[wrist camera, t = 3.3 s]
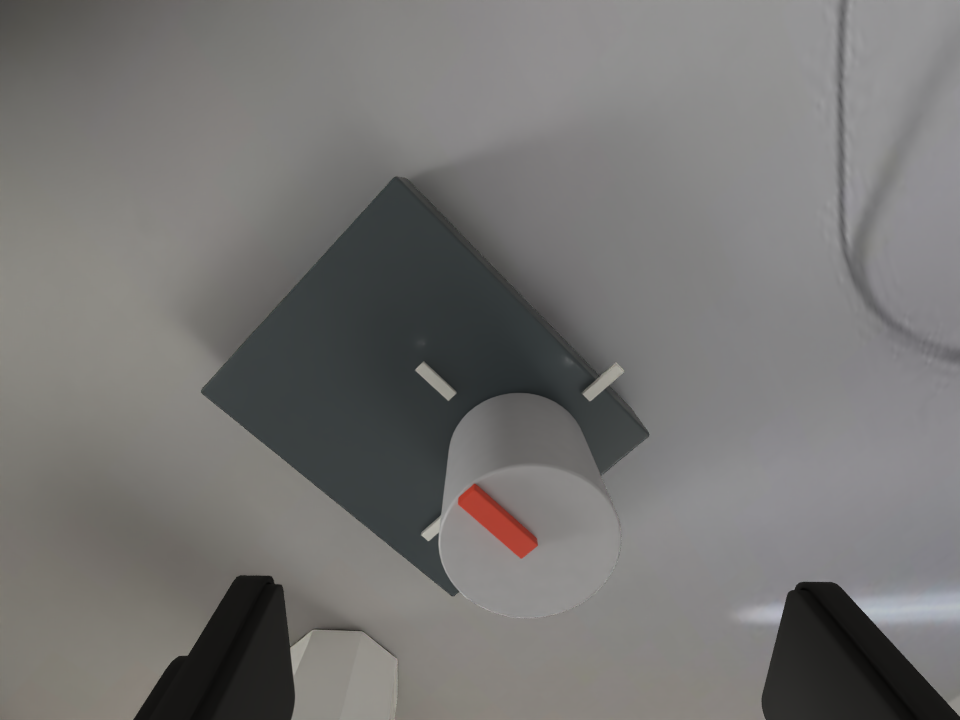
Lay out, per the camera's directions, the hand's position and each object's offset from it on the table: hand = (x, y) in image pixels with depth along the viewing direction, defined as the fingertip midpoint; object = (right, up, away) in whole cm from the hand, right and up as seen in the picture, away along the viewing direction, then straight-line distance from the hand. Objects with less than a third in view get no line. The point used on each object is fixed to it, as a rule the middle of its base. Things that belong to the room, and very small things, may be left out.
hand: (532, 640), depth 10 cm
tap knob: (0, +2, +7) cm, 7 cm away
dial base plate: (-3, +4, +9) cm, 10 cm away
